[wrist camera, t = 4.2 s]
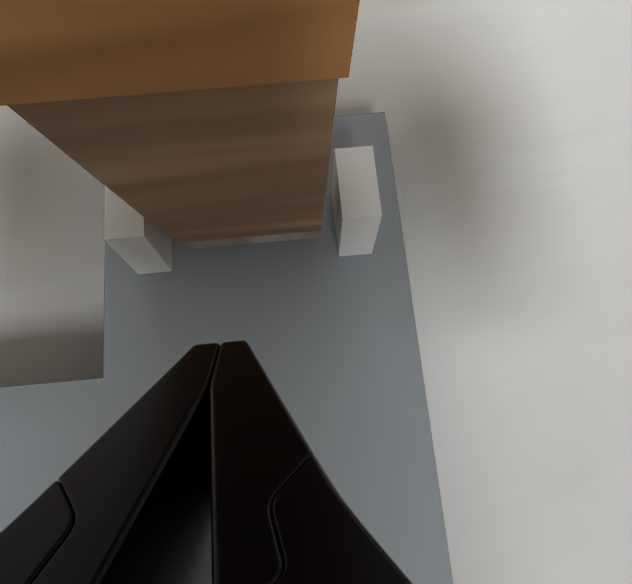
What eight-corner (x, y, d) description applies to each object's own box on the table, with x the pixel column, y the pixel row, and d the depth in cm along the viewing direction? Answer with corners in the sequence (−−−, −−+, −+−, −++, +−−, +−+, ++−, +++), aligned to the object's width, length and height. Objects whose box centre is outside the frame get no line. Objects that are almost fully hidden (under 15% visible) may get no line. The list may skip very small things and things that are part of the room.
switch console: (441, 602, 16) (491, 662, 11) (-393, 687, 16) (-694, 787, 11) (378, 144, 20) (396, 52, 16) (-284, 200, 20) (-470, 122, 15)
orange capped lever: (324, 242, 17) (370, -77, 4) (182, 254, 16) (-195, -35, 4) (319, 189, 17) (350, -267, 4) (178, 201, 17) (-194, -229, 4)
